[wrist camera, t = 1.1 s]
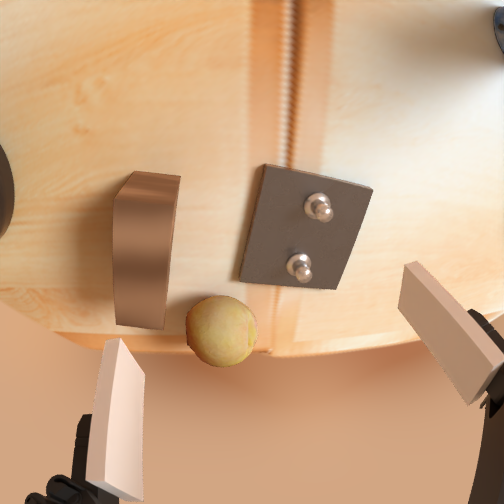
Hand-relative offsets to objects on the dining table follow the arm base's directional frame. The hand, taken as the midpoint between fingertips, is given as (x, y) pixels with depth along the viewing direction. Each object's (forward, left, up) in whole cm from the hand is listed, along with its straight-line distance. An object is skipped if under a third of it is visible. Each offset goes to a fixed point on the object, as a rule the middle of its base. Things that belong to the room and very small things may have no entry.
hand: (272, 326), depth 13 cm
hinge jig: (+9, -3, -19) cm, 21 cm away
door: (-7, -5, -19) cm, 21 cm away
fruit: (+1, -15, -19) cm, 24 cm away
